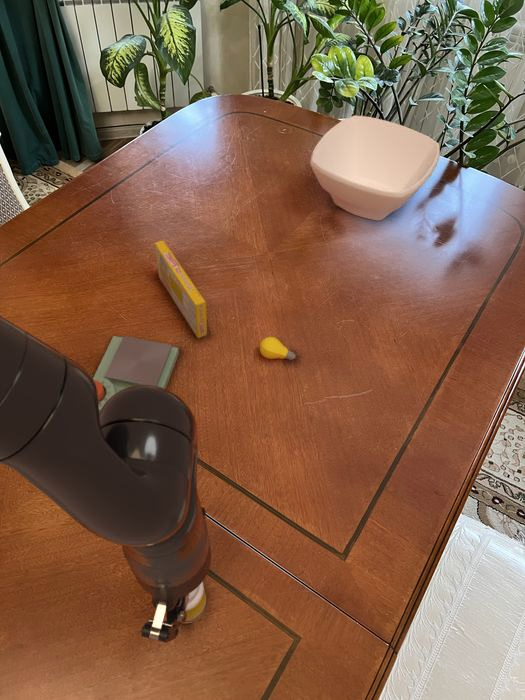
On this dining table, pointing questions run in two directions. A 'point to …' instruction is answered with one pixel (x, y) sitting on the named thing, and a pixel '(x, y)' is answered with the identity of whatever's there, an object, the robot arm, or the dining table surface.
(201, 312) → the candy box
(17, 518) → the dining table surface
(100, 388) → the power button
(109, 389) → the scale
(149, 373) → the scale pan
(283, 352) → the light bulb
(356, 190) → the bowl
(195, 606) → the supplement bottle
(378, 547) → the dining table surface
